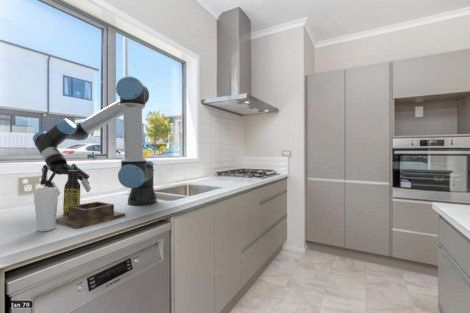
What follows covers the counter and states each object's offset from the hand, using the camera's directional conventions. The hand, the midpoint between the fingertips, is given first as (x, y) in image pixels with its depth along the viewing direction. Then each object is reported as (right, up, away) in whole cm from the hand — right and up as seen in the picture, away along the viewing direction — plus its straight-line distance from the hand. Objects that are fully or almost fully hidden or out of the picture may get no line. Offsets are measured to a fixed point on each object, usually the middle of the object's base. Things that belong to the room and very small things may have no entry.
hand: (74, 192), depth 108 cm
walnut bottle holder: (+12, -10, -7) cm, 17 cm away
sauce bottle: (-2, -10, +1) cm, 10 cm away
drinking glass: (+4, -10, -21) cm, 24 cm away
